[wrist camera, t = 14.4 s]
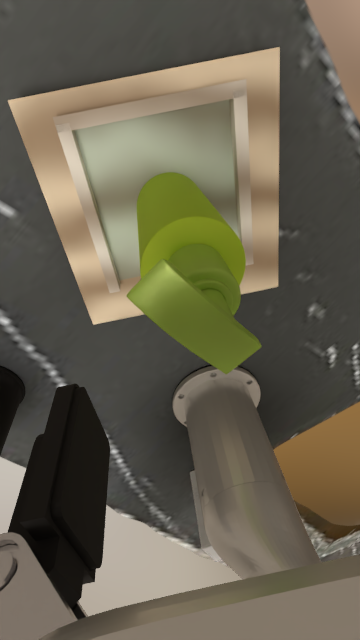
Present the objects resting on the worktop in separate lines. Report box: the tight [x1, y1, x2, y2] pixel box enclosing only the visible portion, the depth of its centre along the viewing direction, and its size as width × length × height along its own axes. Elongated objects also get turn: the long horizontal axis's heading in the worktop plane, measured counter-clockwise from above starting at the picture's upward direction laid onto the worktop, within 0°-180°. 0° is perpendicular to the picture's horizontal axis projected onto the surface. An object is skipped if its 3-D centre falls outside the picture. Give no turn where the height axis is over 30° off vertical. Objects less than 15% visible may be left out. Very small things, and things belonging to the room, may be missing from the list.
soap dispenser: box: [127, 172, 262, 374], centre depth 21 cm, size 6×7×20 cm
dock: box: [8, 47, 280, 325], centre depth 30 cm, size 20×20×4 cm
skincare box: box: [190, 470, 222, 562], centre depth 54 cm, size 6×4×12 cm
